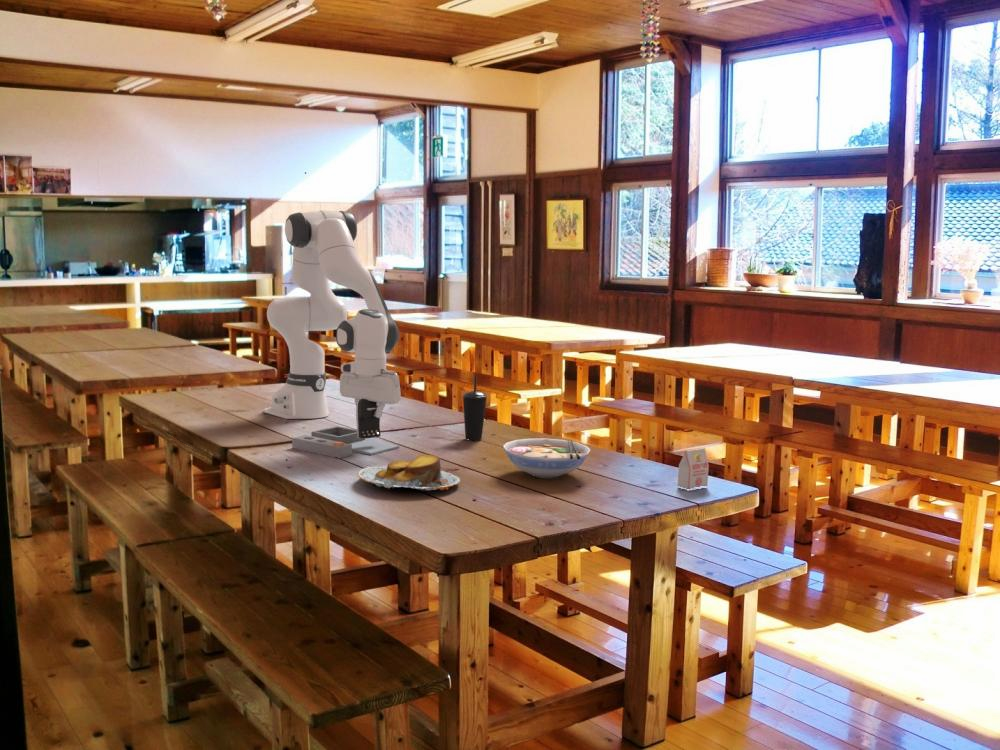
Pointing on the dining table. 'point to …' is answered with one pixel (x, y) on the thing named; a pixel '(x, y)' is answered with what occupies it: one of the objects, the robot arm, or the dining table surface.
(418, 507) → the dining table surface
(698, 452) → the white milk carton
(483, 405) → the drinking cup
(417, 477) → the food on plate
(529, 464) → the ramen bowl
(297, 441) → the charging station
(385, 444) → the slate mat
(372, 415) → the battery charger
